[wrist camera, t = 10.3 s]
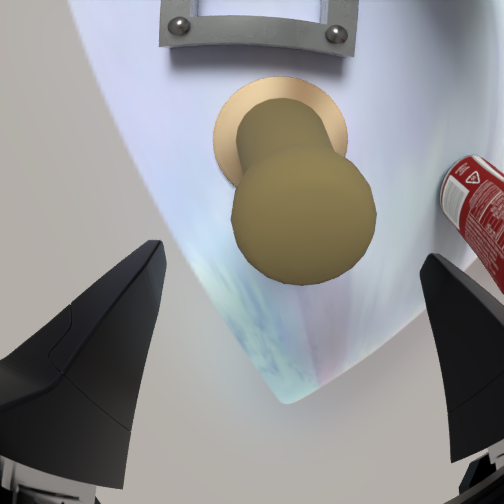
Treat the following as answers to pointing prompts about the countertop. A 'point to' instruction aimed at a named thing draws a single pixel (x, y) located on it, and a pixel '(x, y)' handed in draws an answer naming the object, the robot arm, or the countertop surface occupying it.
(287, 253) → the pepper shaker
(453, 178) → the soda can
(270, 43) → the grey square frame
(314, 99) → the cork coaster
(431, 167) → the countertop surface
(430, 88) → the countertop surface
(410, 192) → the countertop surface
